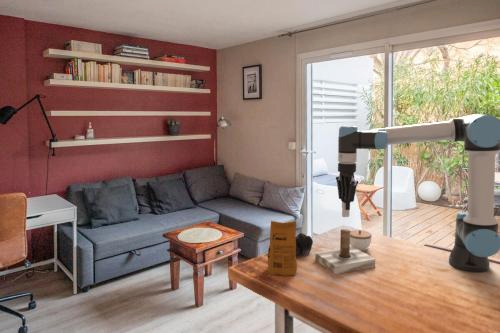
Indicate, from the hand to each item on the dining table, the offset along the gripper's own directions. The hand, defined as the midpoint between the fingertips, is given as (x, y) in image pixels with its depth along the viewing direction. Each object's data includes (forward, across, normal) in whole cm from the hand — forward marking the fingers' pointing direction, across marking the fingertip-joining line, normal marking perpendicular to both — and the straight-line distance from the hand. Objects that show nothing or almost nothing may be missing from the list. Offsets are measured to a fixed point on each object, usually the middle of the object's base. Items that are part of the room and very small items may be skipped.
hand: (345, 216), depth 161 cm
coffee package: (+22, -3, -29) cm, 36 cm away
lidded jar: (+22, -12, +17) cm, 30 cm away
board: (+21, 0, 0) cm, 21 cm away
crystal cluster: (+22, -19, -13) cm, 32 cm away
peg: (+21, 0, 0) cm, 21 cm away
